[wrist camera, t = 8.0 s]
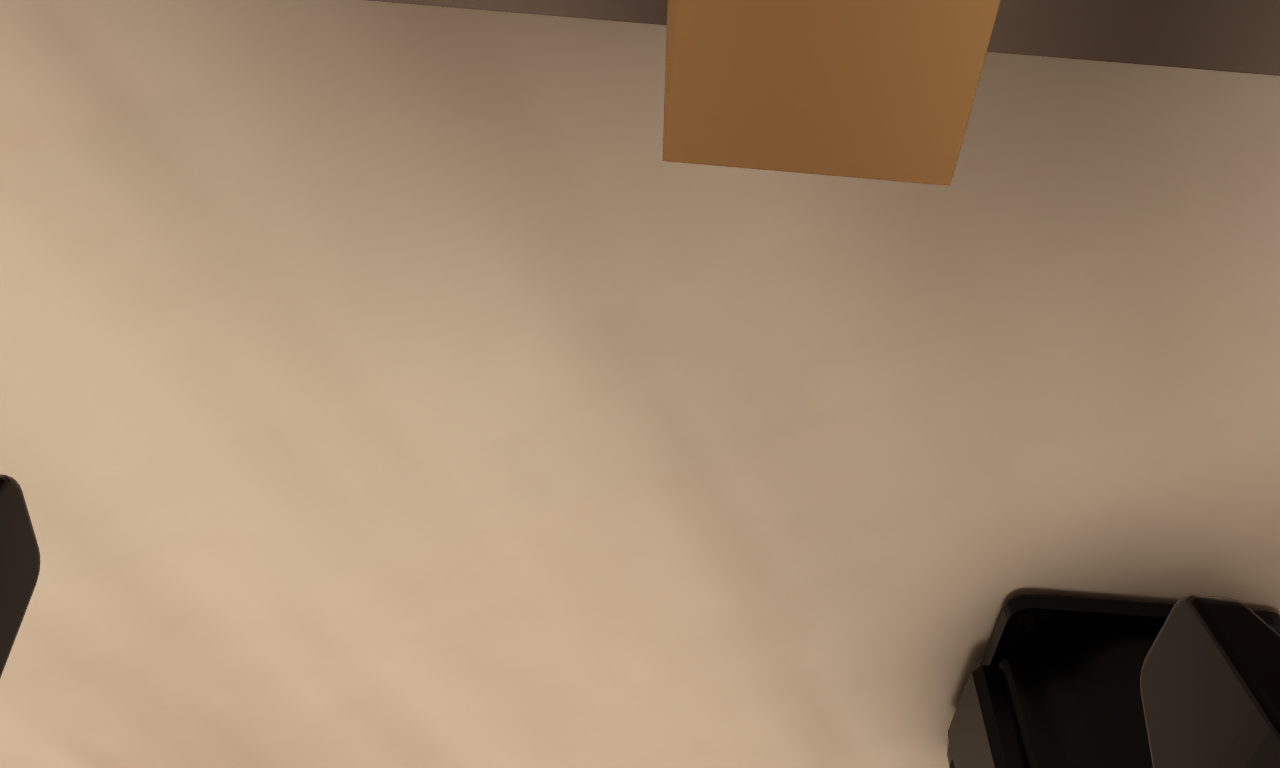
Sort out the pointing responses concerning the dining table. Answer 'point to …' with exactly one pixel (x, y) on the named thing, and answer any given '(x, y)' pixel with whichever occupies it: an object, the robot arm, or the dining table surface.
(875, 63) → the wooden bracket
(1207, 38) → the hook stand
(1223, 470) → the dining table surface
